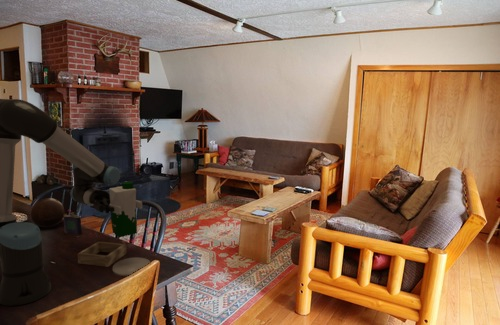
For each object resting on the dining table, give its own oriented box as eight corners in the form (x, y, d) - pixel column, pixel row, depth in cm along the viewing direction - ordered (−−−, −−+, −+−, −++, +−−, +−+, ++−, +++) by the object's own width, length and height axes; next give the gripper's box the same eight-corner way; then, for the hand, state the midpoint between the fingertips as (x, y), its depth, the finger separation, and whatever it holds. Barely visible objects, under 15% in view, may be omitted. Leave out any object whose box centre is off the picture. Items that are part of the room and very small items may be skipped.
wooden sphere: (69, 227, 184) (67, 198, 181) (36, 234, 174) (33, 204, 171) (60, 220, 195) (58, 193, 192) (28, 226, 184) (26, 198, 182)
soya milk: (140, 233, 139) (138, 183, 136) (116, 239, 134) (114, 187, 130) (131, 227, 146) (129, 179, 143) (109, 232, 141) (106, 182, 137)
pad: (138, 277, 131) (138, 275, 131) (105, 273, 134) (104, 271, 134) (156, 261, 145) (156, 259, 145) (125, 258, 148) (125, 256, 148)
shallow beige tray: (108, 266, 140) (107, 257, 139) (78, 263, 143) (77, 253, 142) (126, 253, 153) (126, 244, 152) (99, 250, 155) (98, 241, 155)
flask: (63, 233, 175) (61, 212, 173) (67, 231, 177) (66, 210, 176) (79, 235, 172) (78, 214, 171) (83, 233, 175) (82, 212, 174)
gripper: (120, 201, 158) (153, 210, 145) (72, 213, 141) (106, 224, 128) (119, 185, 157) (153, 192, 144) (71, 194, 139) (105, 204, 127)
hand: (131, 207), depth 136 cm, fingers closed on soya milk, 9 cm apart
